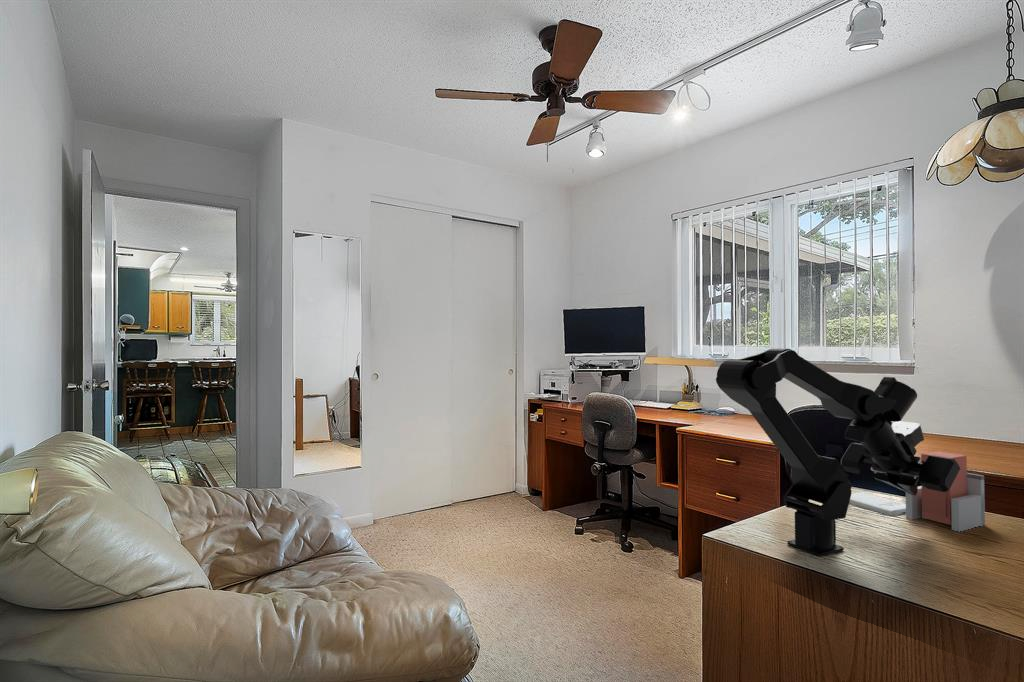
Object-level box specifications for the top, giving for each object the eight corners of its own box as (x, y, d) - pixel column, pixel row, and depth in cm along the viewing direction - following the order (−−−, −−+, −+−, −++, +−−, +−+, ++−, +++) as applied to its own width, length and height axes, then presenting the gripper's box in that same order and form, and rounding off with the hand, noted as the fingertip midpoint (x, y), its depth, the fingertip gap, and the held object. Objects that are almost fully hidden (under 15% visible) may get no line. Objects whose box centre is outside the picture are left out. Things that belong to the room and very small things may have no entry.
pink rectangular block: (948, 525, 105) (947, 458, 106) (920, 518, 110) (919, 453, 110) (967, 520, 108) (966, 455, 108) (939, 513, 113) (938, 451, 113)
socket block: (959, 532, 103) (958, 480, 103) (906, 518, 112) (905, 470, 112) (985, 525, 107) (984, 475, 107) (931, 512, 115) (931, 466, 115)
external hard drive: (863, 498, 128) (917, 513, 116) (837, 502, 125) (890, 517, 113) (862, 491, 128) (917, 506, 116) (837, 495, 125) (890, 510, 113)
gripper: (954, 413, 95) (988, 471, 99) (849, 403, 112) (883, 453, 116) (927, 461, 91) (964, 519, 96) (824, 443, 108) (859, 493, 113)
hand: (914, 493), depth 105 cm, fingers closed
